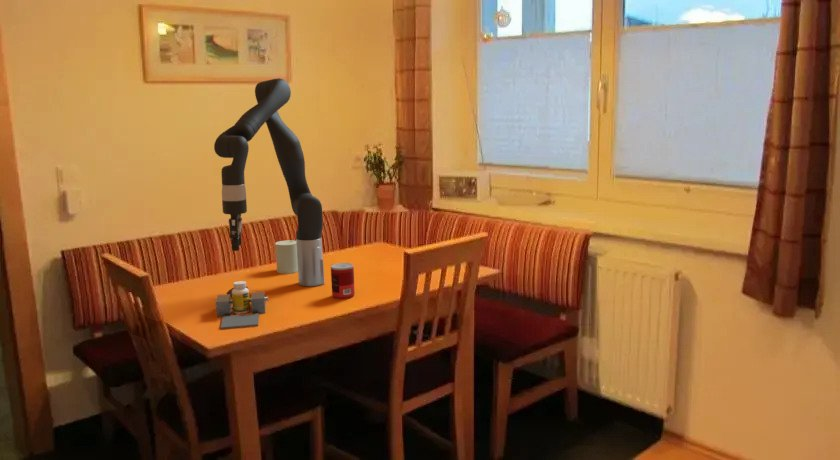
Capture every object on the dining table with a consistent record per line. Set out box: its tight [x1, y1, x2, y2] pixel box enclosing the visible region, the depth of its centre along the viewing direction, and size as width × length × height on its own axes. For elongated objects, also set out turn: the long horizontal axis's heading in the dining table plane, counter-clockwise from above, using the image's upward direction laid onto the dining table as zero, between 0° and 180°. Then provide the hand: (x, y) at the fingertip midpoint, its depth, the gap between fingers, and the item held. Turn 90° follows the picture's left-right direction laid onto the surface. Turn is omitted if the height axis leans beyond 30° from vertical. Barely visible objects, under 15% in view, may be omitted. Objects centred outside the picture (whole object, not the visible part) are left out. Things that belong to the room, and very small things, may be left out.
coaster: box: [220, 313, 260, 330], centre depth 219 cm, size 11×11×1 cm
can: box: [274, 239, 298, 275], centre depth 279 cm, size 9×9×12 cm
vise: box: [215, 291, 269, 318], centre depth 230 cm, size 17×10×5 cm, turn 101°
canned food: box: [330, 262, 356, 300], centre depth 243 cm, size 8×8×11 cm
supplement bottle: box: [231, 280, 251, 315], centre depth 228 cm, size 5×5×10 cm
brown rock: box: [225, 285, 249, 299], centre depth 243 cm, size 8×7×5 cm
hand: (236, 247), depth 228 cm, fingers open, 8 cm apart
